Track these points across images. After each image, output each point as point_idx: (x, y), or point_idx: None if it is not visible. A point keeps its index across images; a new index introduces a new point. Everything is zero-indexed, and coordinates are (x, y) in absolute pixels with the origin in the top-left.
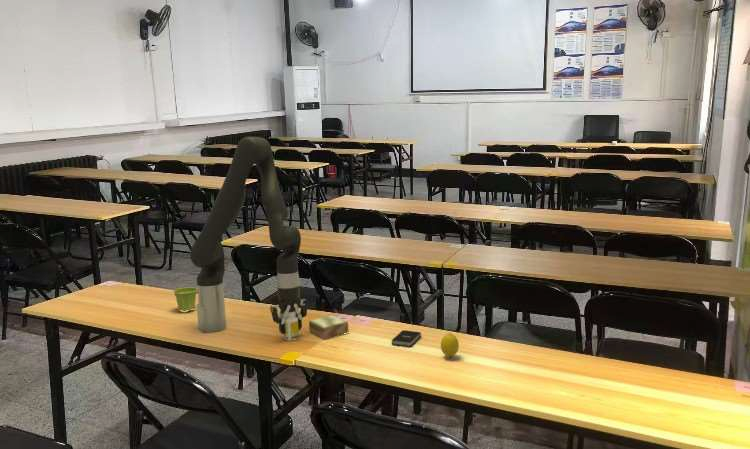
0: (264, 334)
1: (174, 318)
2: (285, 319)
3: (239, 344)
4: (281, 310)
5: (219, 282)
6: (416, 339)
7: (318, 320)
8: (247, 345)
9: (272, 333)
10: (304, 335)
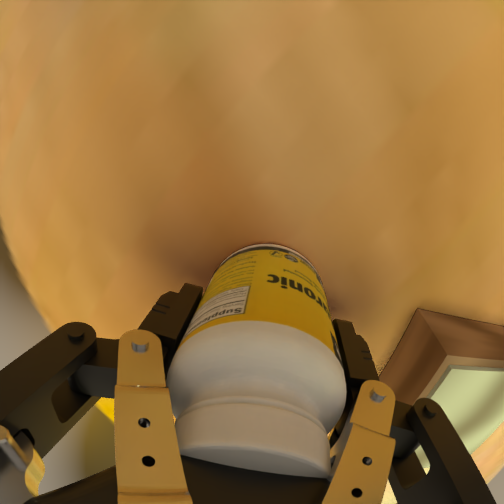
0: (195, 62)
1: None
2: (175, 413)
3: (16, 120)
4: (109, 471)
5: None
6: None
7: (464, 393)
8: (29, 166)
9: (251, 91)
10: (357, 323)
